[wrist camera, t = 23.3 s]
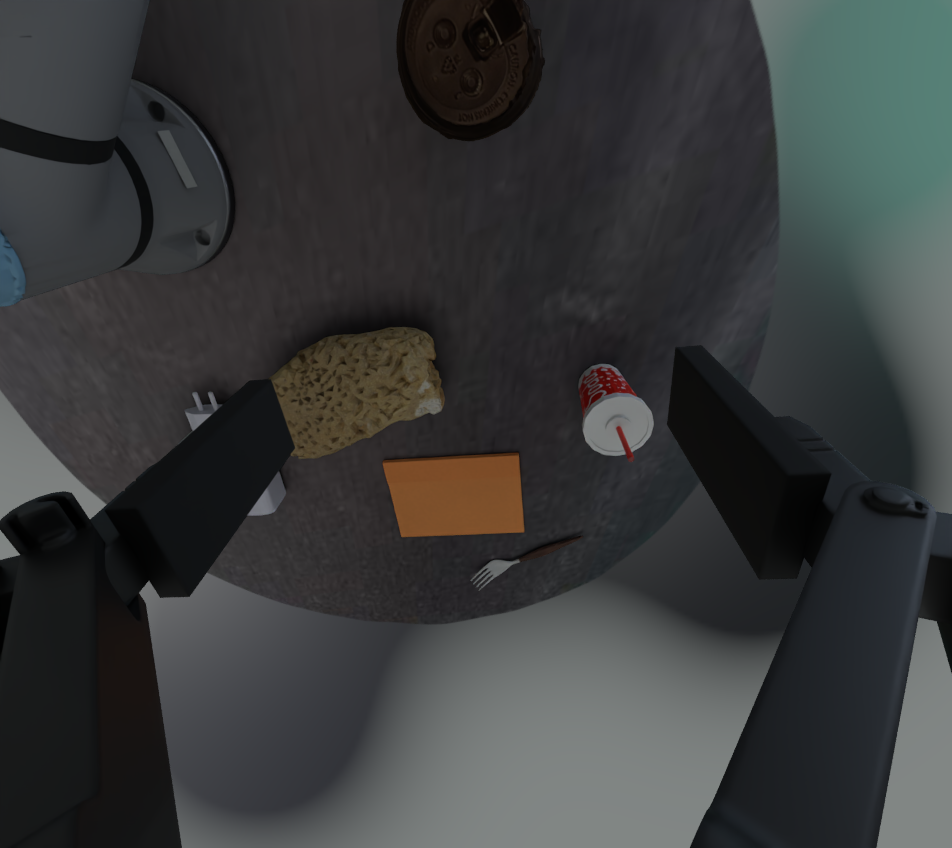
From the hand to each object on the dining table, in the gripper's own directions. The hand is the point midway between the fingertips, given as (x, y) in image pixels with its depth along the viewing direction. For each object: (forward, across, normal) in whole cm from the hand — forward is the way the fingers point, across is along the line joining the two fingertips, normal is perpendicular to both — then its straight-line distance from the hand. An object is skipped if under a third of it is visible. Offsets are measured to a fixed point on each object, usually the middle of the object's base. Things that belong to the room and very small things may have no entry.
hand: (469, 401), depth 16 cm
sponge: (+32, -16, -13) cm, 38 cm away
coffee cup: (+32, 0, +12) cm, 34 cm away
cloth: (+32, -7, -29) cm, 43 cm away
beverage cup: (+32, +10, -15) cm, 37 cm away
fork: (+32, +1, -39) cm, 51 cm away
